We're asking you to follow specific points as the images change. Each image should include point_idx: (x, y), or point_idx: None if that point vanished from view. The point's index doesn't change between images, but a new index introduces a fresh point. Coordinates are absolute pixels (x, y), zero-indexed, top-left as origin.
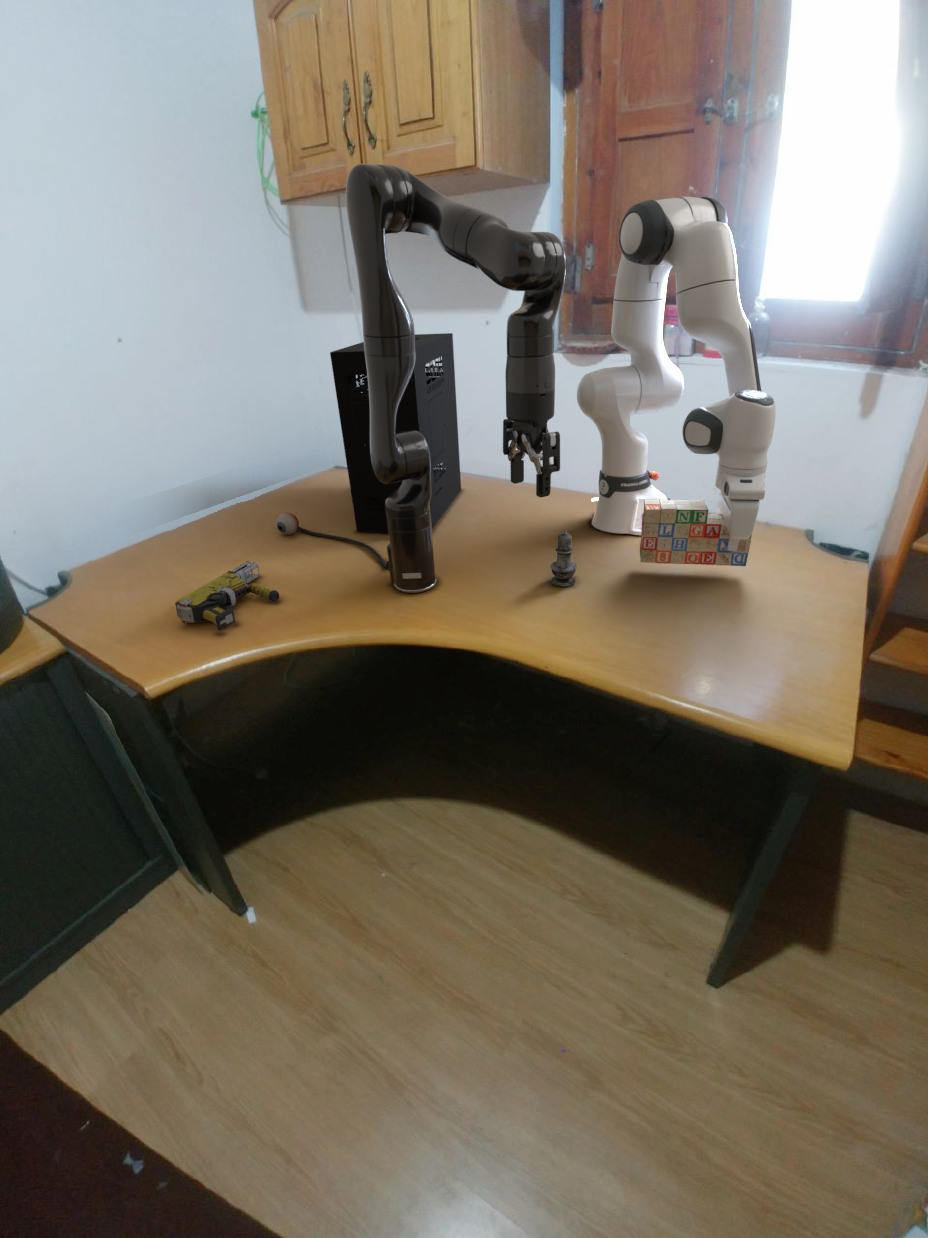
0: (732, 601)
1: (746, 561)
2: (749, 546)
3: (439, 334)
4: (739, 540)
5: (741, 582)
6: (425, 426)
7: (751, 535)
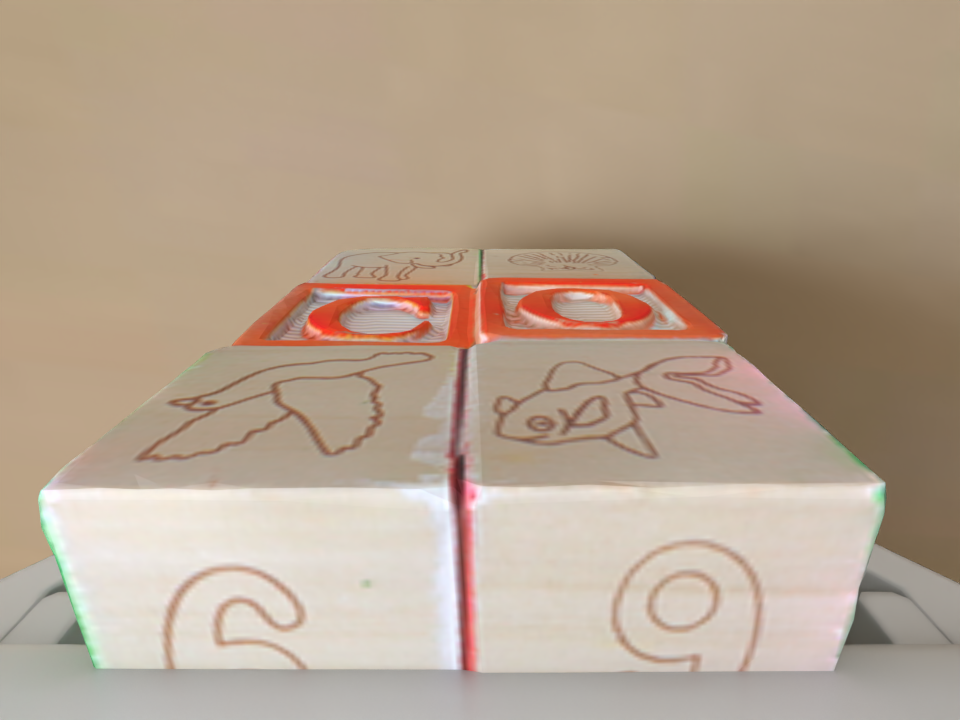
0: (864, 332)
1: (631, 260)
2: (685, 305)
3: None
4: (874, 544)
5: (575, 228)
6: None
7: (751, 366)
